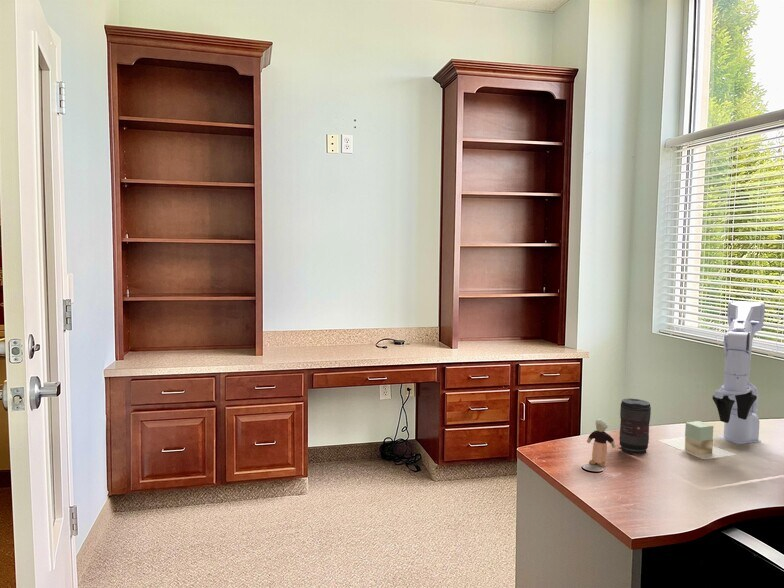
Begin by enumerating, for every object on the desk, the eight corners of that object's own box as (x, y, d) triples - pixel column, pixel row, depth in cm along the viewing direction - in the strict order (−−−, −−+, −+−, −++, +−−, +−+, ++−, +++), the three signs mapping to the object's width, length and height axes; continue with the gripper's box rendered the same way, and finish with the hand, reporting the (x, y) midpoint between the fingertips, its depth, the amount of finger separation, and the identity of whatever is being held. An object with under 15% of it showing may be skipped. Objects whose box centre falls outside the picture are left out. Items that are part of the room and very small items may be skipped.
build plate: (687, 438, 180) (687, 436, 180) (735, 456, 164) (735, 454, 164) (657, 442, 176) (657, 440, 176) (703, 461, 160) (703, 459, 160)
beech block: (697, 447, 169) (698, 434, 169) (712, 453, 165) (713, 439, 164) (684, 449, 168) (685, 436, 168) (698, 455, 163) (699, 441, 163)
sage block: (698, 434, 169) (698, 421, 169) (712, 439, 165) (713, 425, 164) (685, 435, 168) (685, 422, 167) (699, 441, 163) (700, 427, 163)
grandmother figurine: (584, 463, 157) (585, 418, 156) (586, 459, 161) (588, 415, 160) (614, 469, 154) (615, 422, 153) (615, 464, 157) (617, 419, 156)
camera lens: (652, 457, 163) (654, 405, 162) (622, 455, 164) (624, 404, 163) (644, 447, 171) (646, 398, 170) (616, 446, 172) (617, 397, 171)
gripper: (739, 368, 170) (736, 413, 171) (705, 372, 164) (703, 419, 165) (763, 373, 163) (760, 420, 164) (728, 378, 157) (726, 426, 158)
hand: (733, 420), depth 164 cm, fingers open, 7 cm apart
